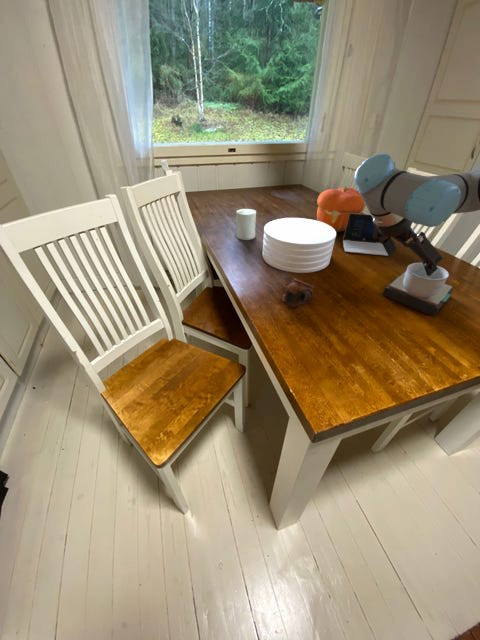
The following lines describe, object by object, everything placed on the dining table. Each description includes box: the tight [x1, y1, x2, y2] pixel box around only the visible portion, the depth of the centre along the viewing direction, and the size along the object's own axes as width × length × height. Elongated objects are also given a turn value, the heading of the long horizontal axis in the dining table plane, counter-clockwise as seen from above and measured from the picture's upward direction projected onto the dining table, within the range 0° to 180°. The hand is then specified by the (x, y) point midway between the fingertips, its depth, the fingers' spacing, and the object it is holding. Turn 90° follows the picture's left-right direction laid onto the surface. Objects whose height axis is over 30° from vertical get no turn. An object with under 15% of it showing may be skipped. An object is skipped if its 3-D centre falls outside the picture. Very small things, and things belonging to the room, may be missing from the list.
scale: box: [382, 271, 455, 317], centre depth 90 cm, size 16×16×4 cm
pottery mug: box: [282, 277, 315, 308], centre depth 87 cm, size 12×9×8 cm
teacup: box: [403, 262, 450, 298], centre depth 85 cm, size 14×11×8 cm
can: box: [235, 208, 257, 241], centre depth 127 cm, size 9×9×12 cm
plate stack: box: [262, 217, 337, 274], centre depth 111 cm, size 28×28×12 cm
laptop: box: [342, 213, 390, 257], centre depth 117 cm, size 18×12×13 cm
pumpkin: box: [316, 186, 366, 233], centre depth 134 cm, size 23×23×20 cm
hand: (411, 261), depth 79 cm, fingers open, 13 cm apart
